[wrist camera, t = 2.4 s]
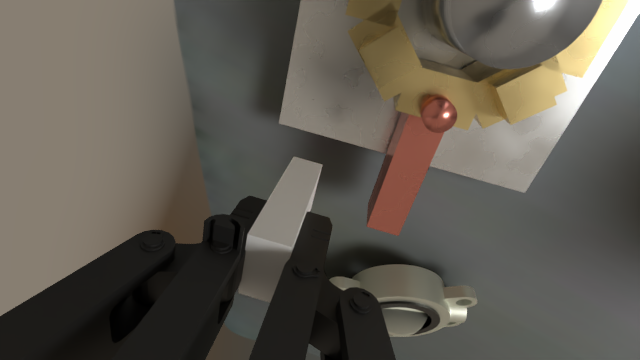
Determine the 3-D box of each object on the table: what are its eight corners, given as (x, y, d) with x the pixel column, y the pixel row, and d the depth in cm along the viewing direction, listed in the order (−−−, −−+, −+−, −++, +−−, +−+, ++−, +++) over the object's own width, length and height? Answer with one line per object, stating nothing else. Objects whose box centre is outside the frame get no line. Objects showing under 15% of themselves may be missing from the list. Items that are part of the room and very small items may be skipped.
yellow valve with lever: (396, -165, 16) (402, -240, 11) (638, -105, 15) (753, -156, 11) (309, 184, 25) (292, 224, 21) (456, 226, 25) (474, 278, 20)
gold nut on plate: (359, -270, 16) (321, -778, 6) (726, -183, 16) (1433, -574, 5) (287, 113, 26) (223, 185, 15) (512, 176, 25) (605, 296, 15)
